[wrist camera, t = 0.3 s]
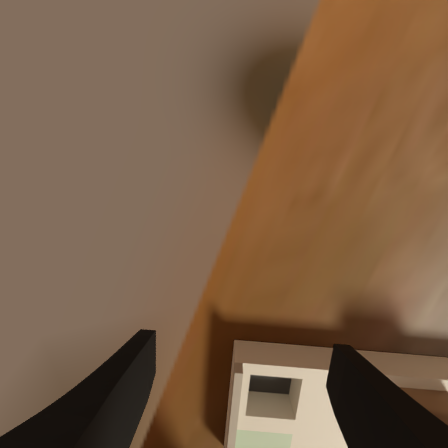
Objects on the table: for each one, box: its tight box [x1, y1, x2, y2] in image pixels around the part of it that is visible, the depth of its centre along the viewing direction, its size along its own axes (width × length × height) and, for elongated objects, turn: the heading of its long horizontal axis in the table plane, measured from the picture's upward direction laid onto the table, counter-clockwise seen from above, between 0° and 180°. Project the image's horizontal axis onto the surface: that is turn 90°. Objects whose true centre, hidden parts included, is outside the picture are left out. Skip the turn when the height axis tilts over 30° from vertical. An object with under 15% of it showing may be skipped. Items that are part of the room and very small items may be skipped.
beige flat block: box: [224, 340, 448, 448], centre depth 21 cm, size 12×23×4 cm, turn 86°
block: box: [400, 387, 448, 425], centre depth 18 cm, size 4×4×4 cm
